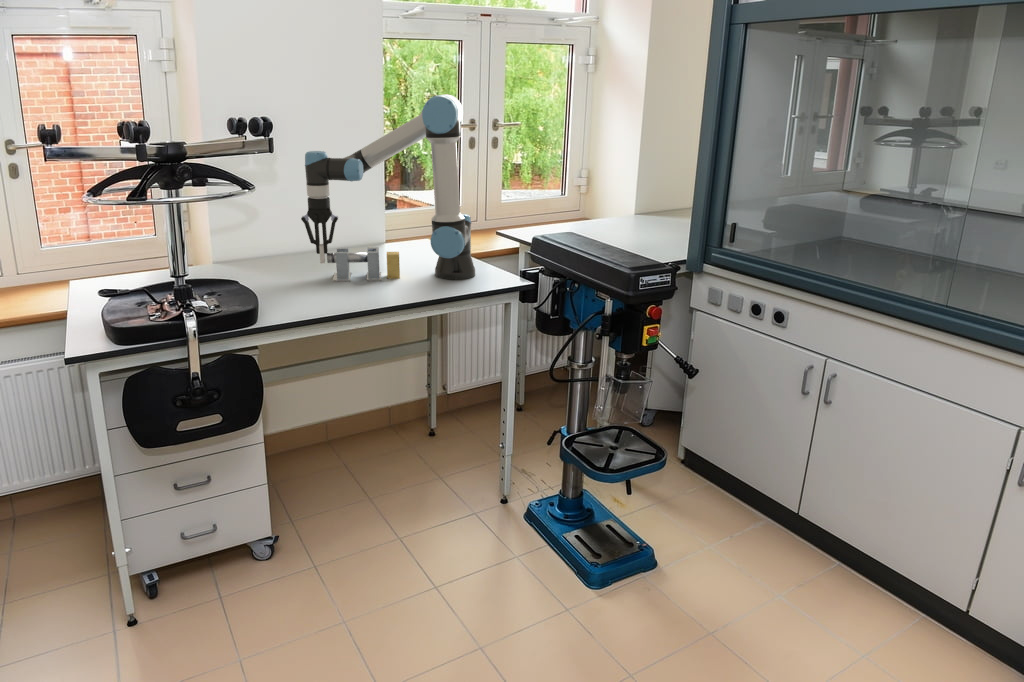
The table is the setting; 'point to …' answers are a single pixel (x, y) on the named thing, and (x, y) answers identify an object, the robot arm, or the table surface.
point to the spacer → (393, 265)
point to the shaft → (349, 257)
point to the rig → (343, 265)
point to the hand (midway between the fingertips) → (322, 262)
